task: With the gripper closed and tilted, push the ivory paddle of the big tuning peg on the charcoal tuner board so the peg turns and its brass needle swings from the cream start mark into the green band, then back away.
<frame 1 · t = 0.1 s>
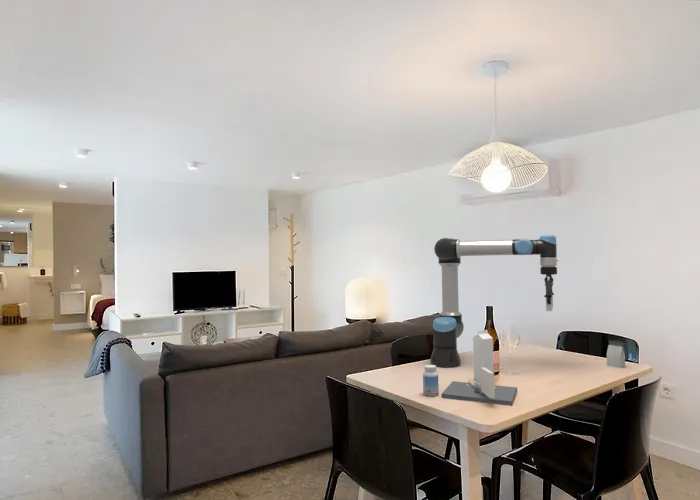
hand: (549, 309, 229), 28 cm above the table, tool pointing down, fingers open, 13 cm apart
tuning peg: (479, 378, 182), point 7 cm above the table, hinge at 0.0°
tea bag: (615, 366, 227), on the table
milk: (483, 380, 205), on the table
tuner board: (480, 394, 184), on the table
pill bottle: (430, 394, 186), on the table
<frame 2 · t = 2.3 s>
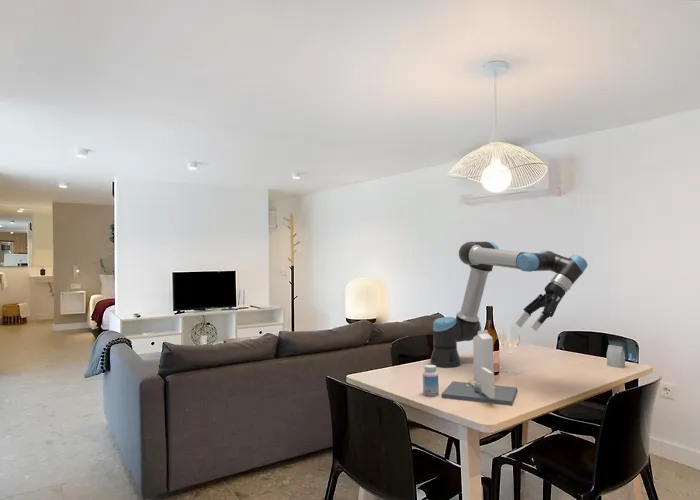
hand: (525, 327, 187), 26 cm above the table, tool tilted 45°, fingers open, 13 cm apart
nothing on the table moved.
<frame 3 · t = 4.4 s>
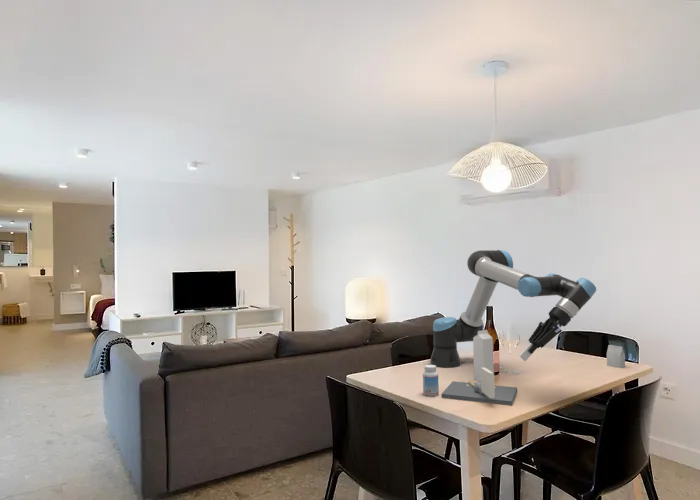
hand: (522, 358, 175), 16 cm above the table, tool tilted 45°, fingers closed
nothing on the table moved.
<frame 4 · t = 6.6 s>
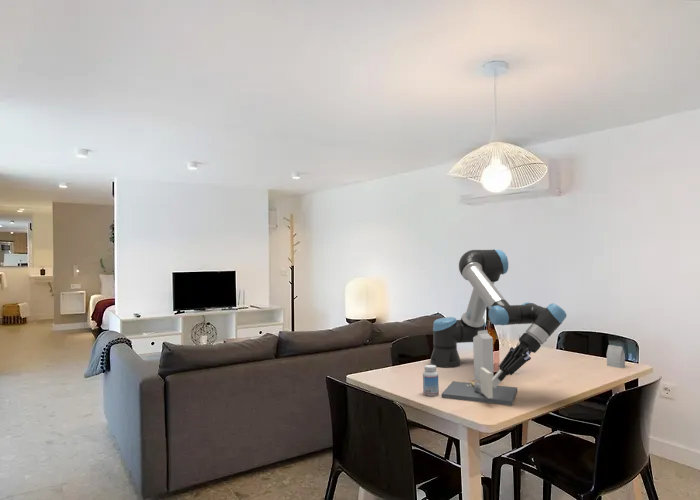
hand: (491, 385, 173), 6 cm above the table, tool tilted 45°, fingers closed
tuning peg: (479, 378, 182), point 7 cm above the table, hinge at -3.3°, touching gripper
everything else where it was.
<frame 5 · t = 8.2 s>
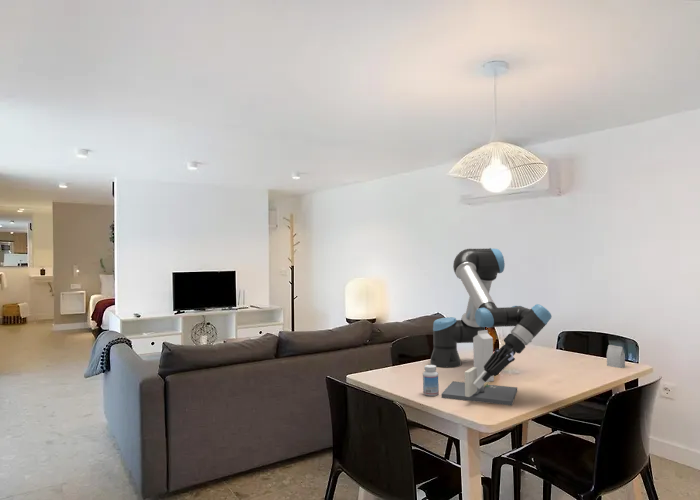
hand: (476, 385, 173), 6 cm above the table, tool tilted 45°, fingers closed
tuning peg: (478, 378, 182), point 7 cm above the table, hinge at -38.8°, touching gripper
everything else where it was.
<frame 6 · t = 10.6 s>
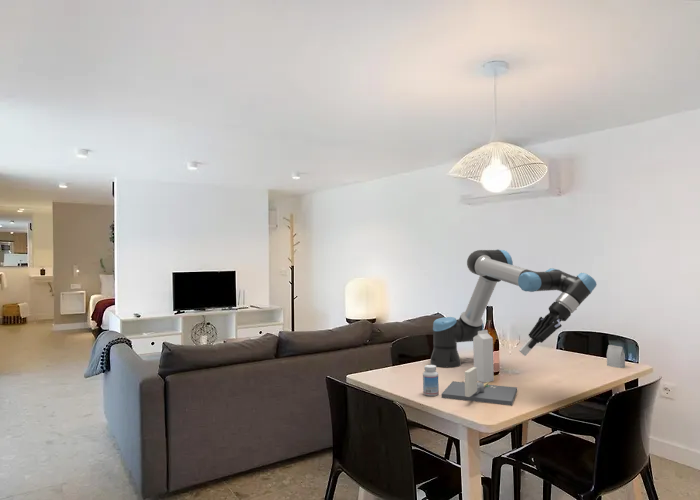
hand: (522, 353, 175), 18 cm above the table, tool tilted 45°, fingers closed
tuning peg: (478, 378, 182), point 7 cm above the table, hinge at -38.9°
everything else where it was.
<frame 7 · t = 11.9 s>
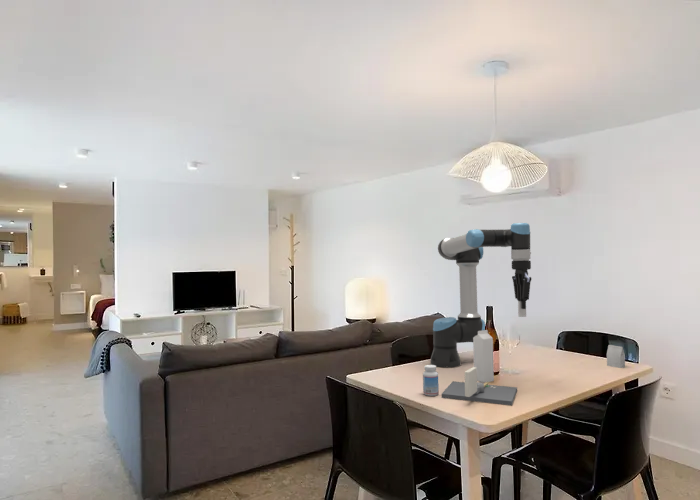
hand: (522, 316, 194), 29 cm above the table, tool pointing down, fingers closed
nothing on the table moved.
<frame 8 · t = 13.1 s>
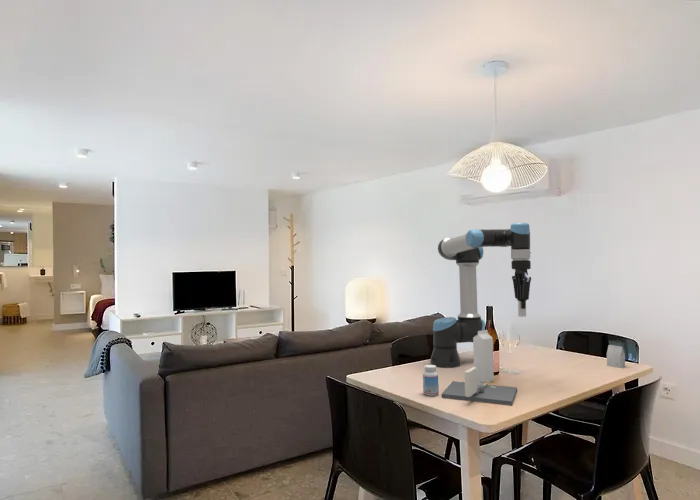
hand: (522, 316, 194), 29 cm above the table, tool pointing down, fingers closed
nothing on the table moved.
at the end: tuning peg at -39° (first picture: +0°); the gripper is holding nothing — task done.
